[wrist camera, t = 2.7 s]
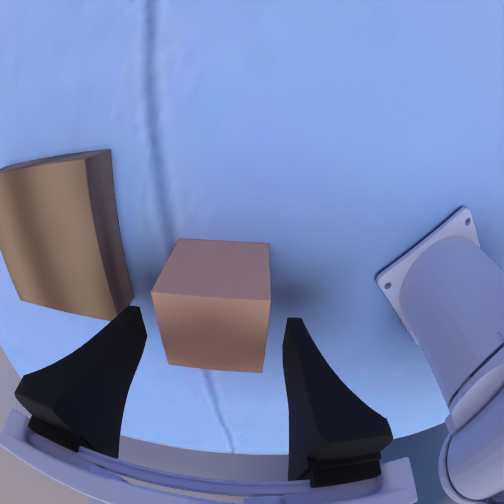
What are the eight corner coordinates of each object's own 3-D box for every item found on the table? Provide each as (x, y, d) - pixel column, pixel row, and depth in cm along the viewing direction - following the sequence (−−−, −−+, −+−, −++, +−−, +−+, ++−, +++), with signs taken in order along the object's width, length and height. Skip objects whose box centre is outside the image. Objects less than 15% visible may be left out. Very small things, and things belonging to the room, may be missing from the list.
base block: (114, 147, 13) (84, 159, 10) (135, 293, 18) (119, 322, 15) (10, 164, 13) (-18, 177, 10) (39, 278, 18) (20, 300, 15)
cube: (268, 242, 15) (271, 300, 11) (262, 310, 18) (262, 372, 13) (179, 238, 15) (150, 291, 11) (187, 305, 18) (168, 364, 13)
